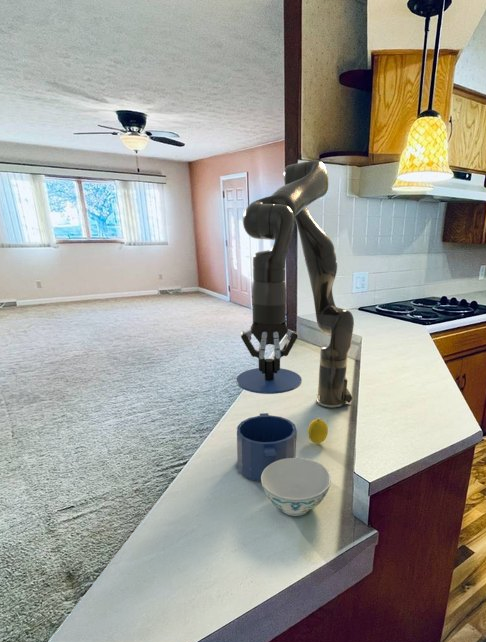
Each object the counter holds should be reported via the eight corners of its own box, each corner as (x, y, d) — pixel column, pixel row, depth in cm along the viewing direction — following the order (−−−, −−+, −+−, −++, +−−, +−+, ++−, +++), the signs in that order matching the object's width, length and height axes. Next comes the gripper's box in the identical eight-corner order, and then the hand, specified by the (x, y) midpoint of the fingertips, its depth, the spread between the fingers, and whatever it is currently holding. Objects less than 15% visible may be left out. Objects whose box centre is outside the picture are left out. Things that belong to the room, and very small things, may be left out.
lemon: (324, 450, 114) (326, 424, 111) (305, 447, 114) (306, 421, 111) (328, 440, 119) (330, 415, 116) (309, 437, 119) (311, 413, 116)
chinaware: (254, 491, 95) (254, 463, 92) (315, 480, 100) (316, 453, 97) (270, 536, 82) (270, 505, 79) (339, 521, 87) (342, 491, 84)
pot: (289, 443, 116) (290, 409, 112) (300, 486, 98) (302, 448, 94) (237, 446, 113) (236, 411, 109) (238, 490, 95) (237, 451, 91)
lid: (296, 370, 108) (296, 349, 106) (306, 394, 94) (307, 370, 92) (235, 372, 105) (234, 350, 103) (237, 398, 91) (236, 373, 89)
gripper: (238, 304, 87) (240, 379, 94) (302, 304, 90) (300, 377, 97) (237, 297, 94) (239, 367, 101) (297, 297, 97) (295, 366, 103)
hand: (269, 372), depth 99 cm, fingers closed on lid, 2 cm apart
